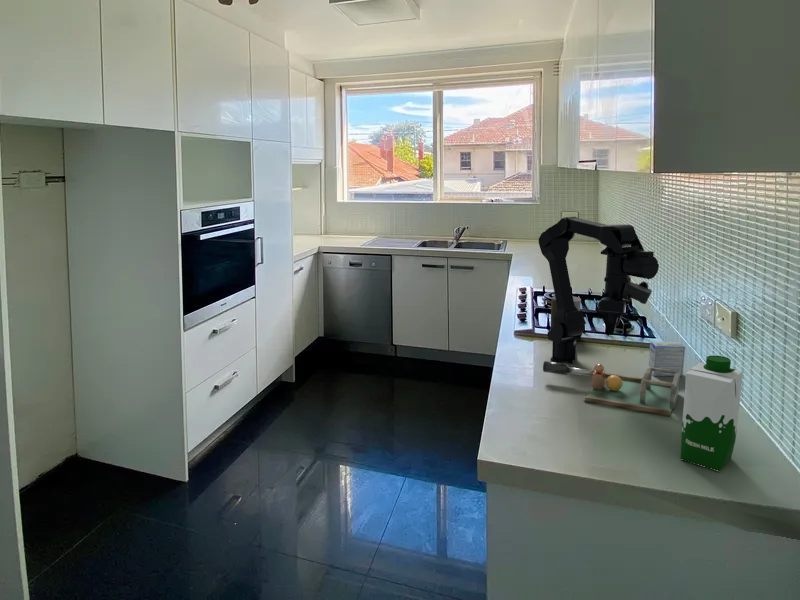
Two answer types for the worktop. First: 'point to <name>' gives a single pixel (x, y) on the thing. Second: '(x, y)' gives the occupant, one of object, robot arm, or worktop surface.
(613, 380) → the ball
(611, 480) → the worktop surface
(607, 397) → the pitch
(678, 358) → the medicine box
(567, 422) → the worktop surface
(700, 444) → the milk carton
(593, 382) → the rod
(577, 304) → the pillar candle
